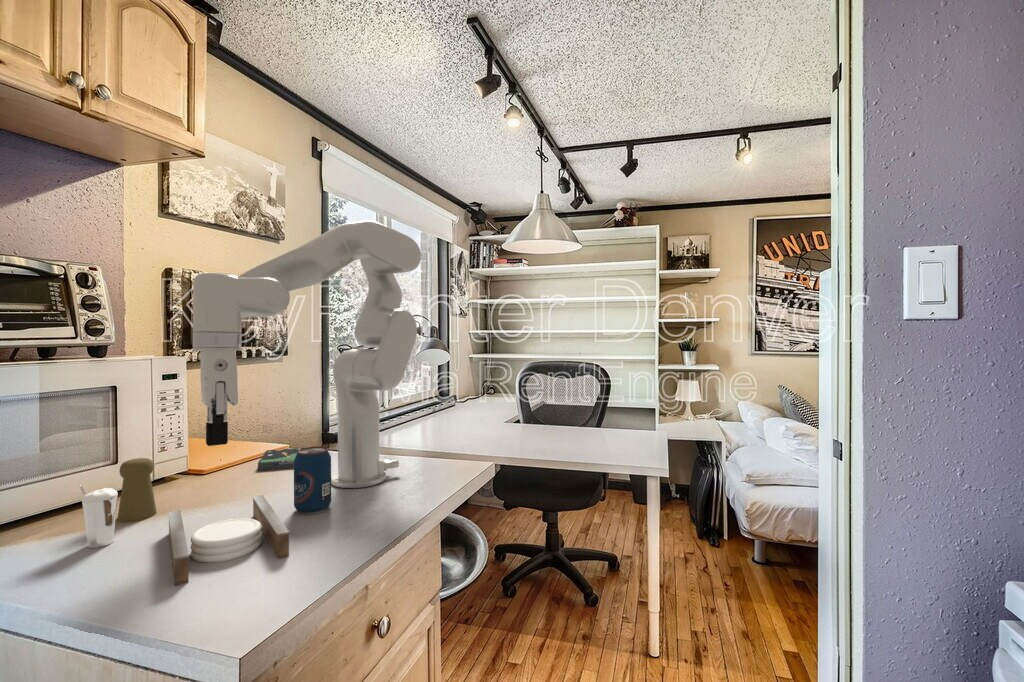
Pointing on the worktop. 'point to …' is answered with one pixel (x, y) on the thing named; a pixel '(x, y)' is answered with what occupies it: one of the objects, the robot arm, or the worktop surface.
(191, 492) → the worktop surface
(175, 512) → the chute
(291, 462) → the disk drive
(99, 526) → the milkshake
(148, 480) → the olive pepper shaker
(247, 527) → the coaster
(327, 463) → the soda can
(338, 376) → the robot arm
